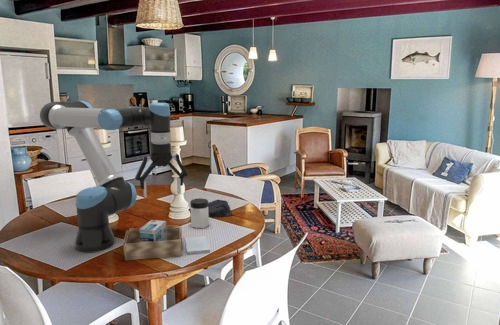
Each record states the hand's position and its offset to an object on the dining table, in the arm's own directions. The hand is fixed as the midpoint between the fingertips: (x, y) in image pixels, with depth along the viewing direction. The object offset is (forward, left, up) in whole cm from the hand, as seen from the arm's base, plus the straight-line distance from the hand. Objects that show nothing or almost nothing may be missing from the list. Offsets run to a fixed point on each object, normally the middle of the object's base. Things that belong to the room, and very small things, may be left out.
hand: (162, 195), depth 156 cm
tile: (+13, -4, -21) cm, 25 cm away
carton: (-4, -4, -21) cm, 22 cm away
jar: (+16, +20, -22) cm, 33 cm away
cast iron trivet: (+27, +40, -22) cm, 53 cm away
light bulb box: (-4, -4, -22) cm, 22 cm away
